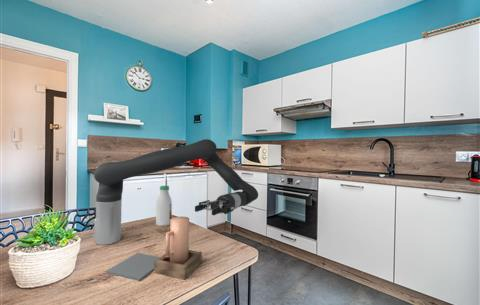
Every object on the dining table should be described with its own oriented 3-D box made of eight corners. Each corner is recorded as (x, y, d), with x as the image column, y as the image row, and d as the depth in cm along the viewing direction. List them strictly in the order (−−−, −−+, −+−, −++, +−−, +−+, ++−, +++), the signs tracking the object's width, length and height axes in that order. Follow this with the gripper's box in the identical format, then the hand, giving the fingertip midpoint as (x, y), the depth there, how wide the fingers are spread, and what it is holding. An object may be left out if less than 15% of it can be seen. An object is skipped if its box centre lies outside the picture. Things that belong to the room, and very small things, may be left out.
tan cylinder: (179, 260, 76) (180, 215, 76) (192, 266, 72) (193, 218, 72) (159, 271, 69) (160, 221, 69) (172, 278, 65) (173, 225, 65)
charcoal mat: (106, 272, 67) (106, 270, 67) (137, 254, 80) (137, 252, 80) (139, 281, 63) (139, 279, 63) (167, 260, 76) (167, 258, 76)
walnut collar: (154, 272, 68) (154, 261, 68) (174, 256, 78) (174, 247, 78) (184, 279, 65) (184, 268, 65) (201, 262, 75) (202, 252, 75)
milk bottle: (166, 227, 109) (167, 187, 109) (152, 225, 111) (153, 186, 111) (174, 222, 117) (174, 185, 117) (161, 221, 118) (161, 184, 118)
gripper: (216, 192, 98) (190, 198, 85) (242, 195, 91) (218, 203, 77) (216, 208, 98) (190, 217, 85) (242, 213, 91) (218, 224, 77)
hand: (203, 210), depth 81 cm, fingers open, 8 cm apart
